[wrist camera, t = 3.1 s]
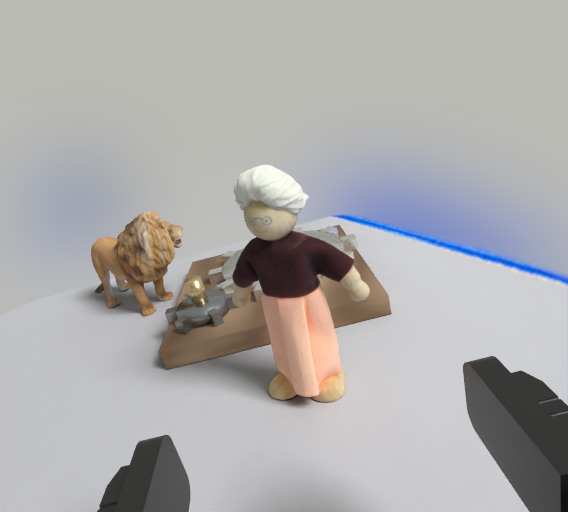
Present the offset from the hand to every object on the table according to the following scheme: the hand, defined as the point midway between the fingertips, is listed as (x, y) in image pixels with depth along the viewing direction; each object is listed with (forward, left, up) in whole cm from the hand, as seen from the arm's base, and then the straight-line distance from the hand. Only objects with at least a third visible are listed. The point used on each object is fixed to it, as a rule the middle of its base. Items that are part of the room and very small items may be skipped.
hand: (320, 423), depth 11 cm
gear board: (-2, +25, -7) cm, 26 cm away
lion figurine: (-15, +30, -8) cm, 34 cm away
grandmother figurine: (0, +11, -7) cm, 13 cm away
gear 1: (-7, +20, -6) cm, 22 cm away
